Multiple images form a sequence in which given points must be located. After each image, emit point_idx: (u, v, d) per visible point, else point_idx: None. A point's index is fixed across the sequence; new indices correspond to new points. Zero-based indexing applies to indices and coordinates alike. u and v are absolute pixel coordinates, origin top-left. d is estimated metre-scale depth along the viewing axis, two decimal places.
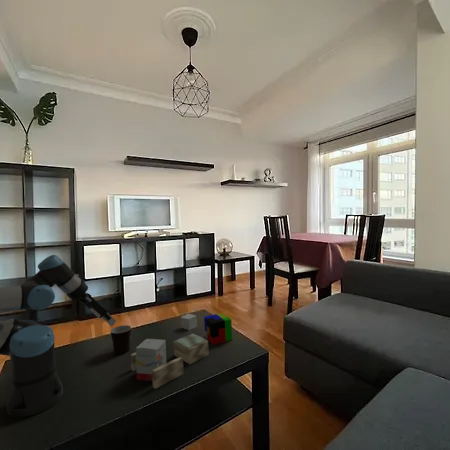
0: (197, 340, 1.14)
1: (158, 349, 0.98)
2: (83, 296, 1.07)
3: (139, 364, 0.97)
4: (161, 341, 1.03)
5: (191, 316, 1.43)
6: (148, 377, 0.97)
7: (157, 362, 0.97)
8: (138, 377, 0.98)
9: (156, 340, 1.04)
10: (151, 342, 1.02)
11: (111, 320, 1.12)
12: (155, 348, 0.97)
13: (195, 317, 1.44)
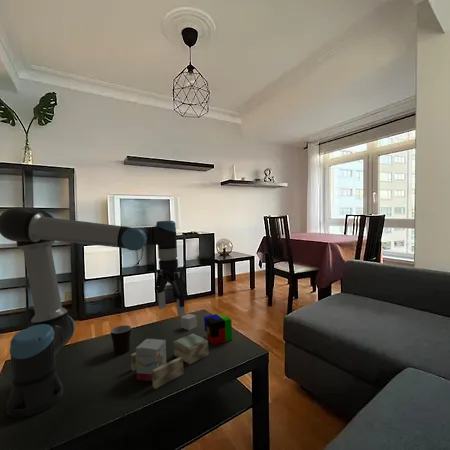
0: (197, 340, 1.14)
1: (158, 349, 0.98)
2: (173, 270, 1.05)
3: (139, 364, 0.97)
4: (161, 341, 1.03)
5: (191, 316, 1.43)
6: (148, 377, 0.97)
7: (157, 362, 0.97)
8: (138, 377, 0.98)
9: (156, 340, 1.04)
10: (151, 342, 1.02)
11: (181, 309, 1.03)
12: (155, 348, 0.97)
13: (195, 317, 1.44)
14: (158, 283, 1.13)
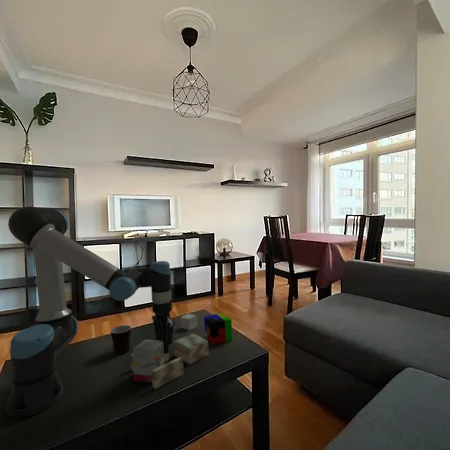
0: (197, 340, 1.14)
1: (155, 350, 0.97)
2: (166, 314, 1.02)
3: (136, 365, 0.97)
4: (159, 342, 1.02)
5: (191, 316, 1.43)
6: (145, 378, 0.96)
7: (154, 364, 0.96)
8: (135, 378, 0.97)
9: (154, 341, 1.03)
10: (148, 343, 1.01)
11: (166, 355, 1.05)
12: (152, 349, 0.96)
13: (195, 317, 1.44)
14: (157, 331, 1.07)
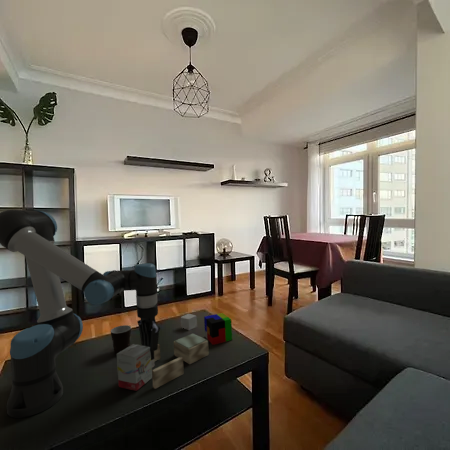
0: (197, 340, 1.14)
1: (138, 357, 0.92)
2: (152, 319, 0.97)
3: (120, 370, 0.93)
4: (145, 348, 0.97)
5: (191, 316, 1.43)
6: (128, 386, 0.92)
7: (136, 371, 0.91)
8: (119, 384, 0.94)
9: (141, 346, 0.98)
10: (134, 349, 0.97)
11: (151, 362, 1.00)
12: (134, 355, 0.92)
13: (195, 317, 1.44)
14: (143, 336, 1.02)
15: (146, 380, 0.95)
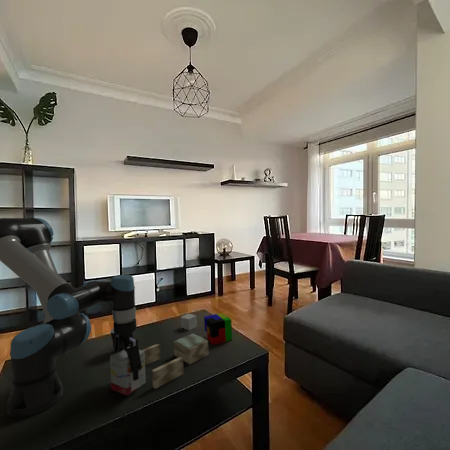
0: (197, 340, 1.14)
1: None
2: (129, 335, 0.91)
3: (112, 373, 0.92)
4: (139, 352, 0.95)
5: (191, 316, 1.43)
6: (119, 389, 0.90)
7: (128, 375, 0.89)
8: (112, 387, 0.92)
9: None
10: None
11: (135, 382, 0.91)
12: (126, 360, 0.90)
13: (195, 317, 1.44)
14: (116, 347, 0.99)
15: None
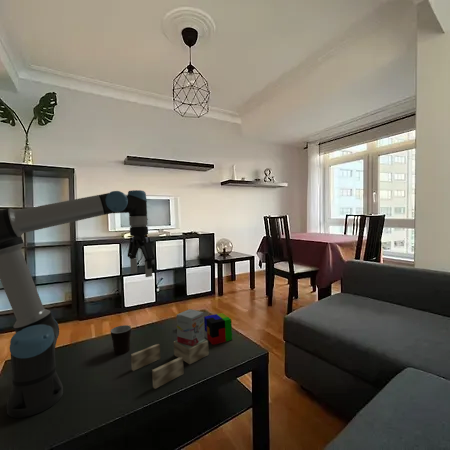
0: None
1: (194, 318, 1.09)
2: (142, 236, 1.14)
3: (179, 328, 1.12)
4: (199, 312, 1.14)
5: None
6: (185, 341, 1.10)
7: (192, 330, 1.09)
8: (178, 340, 1.12)
9: (195, 311, 1.16)
10: (190, 312, 1.14)
11: (149, 271, 1.12)
12: (191, 317, 1.09)
13: None
14: (130, 250, 1.22)
15: (199, 339, 1.12)
